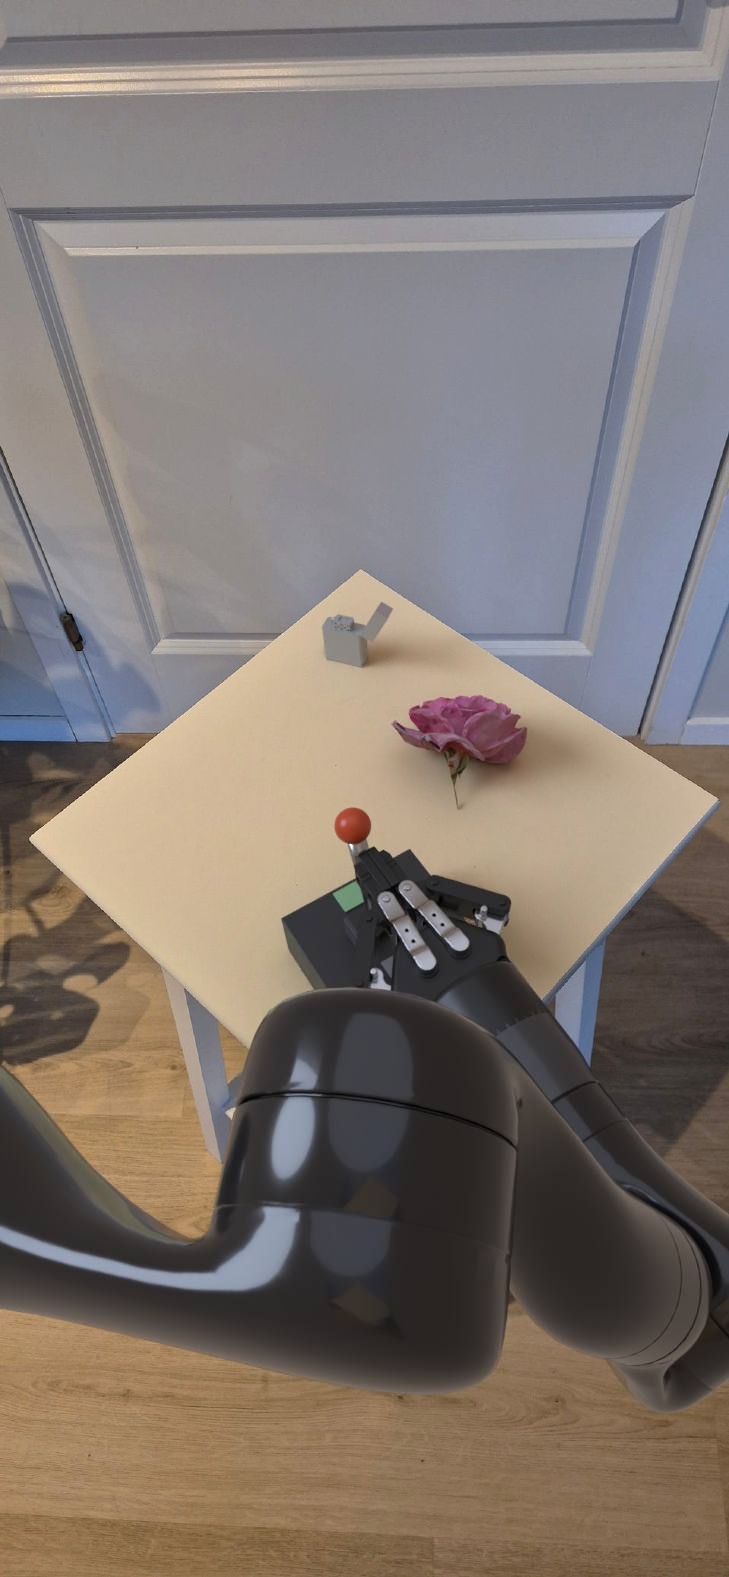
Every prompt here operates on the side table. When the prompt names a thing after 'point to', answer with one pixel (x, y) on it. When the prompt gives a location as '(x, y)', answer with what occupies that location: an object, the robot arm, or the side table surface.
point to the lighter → (352, 636)
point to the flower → (465, 731)
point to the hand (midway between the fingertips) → (364, 857)
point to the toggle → (354, 836)
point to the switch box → (340, 931)
